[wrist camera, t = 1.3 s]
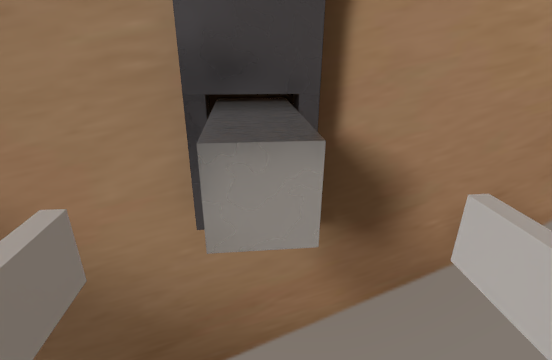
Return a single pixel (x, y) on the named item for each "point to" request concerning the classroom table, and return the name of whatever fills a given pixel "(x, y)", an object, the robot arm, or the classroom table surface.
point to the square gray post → (260, 176)
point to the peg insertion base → (246, 59)
